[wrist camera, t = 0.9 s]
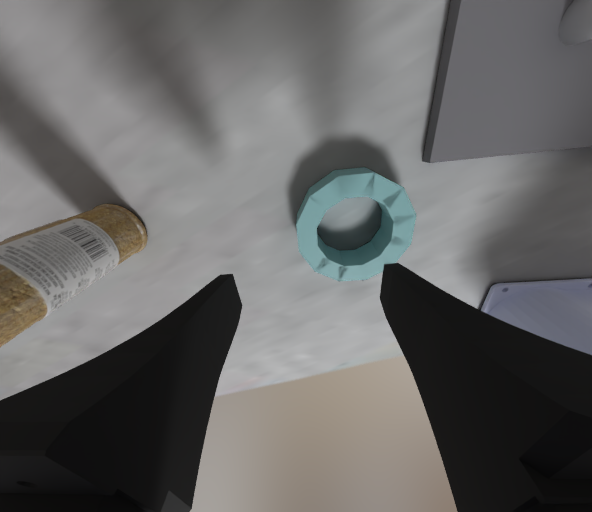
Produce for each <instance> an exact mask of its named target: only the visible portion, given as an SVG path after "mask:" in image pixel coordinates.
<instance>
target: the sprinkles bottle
mask: <svg viewBox="0 0 592 512" xmlns="http://www.w3.org/2000/svg"><path fill="white" fill-rule="evenodd" d="M146 243H147V233H146V229H145V227H144V225H143V224H142V222H141V221H140V220H139V219H138V218H137V217H136V216H135V215H134V214H133V213H131V212H130V211H129V210H127V209H125V208H123V207H121V206H118V205H113V204H102V205H99V206H96V207H95V208H94V209H92V210H90V211H87V212H84V213H81V214H79V215H76V216H73V217H69V218H67V219H64V220H58V221H55V222H52V223H49V224H46V225H43V226H40V227H37V228H34V229H32V230H29V231H26V232H23V233H20V234H17V235H15V236H12V237H9V238H7V239H5V240H4V241H2V242H0V347H1V346H2V345H4V344H5V343H7V342H9V341H10V340H11V339H13V338H14V337H15V336H16V335H18V334H20V333H21V332H23V331H24V330H25V329H27V328H29V327H30V326H31V325H33V324H34V323H35V322H37V321H40V320H42V319H43V318H45V317H46V316H48V315H49V314H50V313H52V312H53V311H55V310H56V309H57V308H59V307H60V306H62V305H63V304H65V303H66V302H67V301H69V300H70V299H72V298H73V297H74V296H76V295H77V294H79V293H80V292H82V291H83V290H84V289H86V288H87V287H89V286H90V285H92V284H93V283H94V282H96V281H97V280H99V279H100V278H102V277H103V276H104V275H106V274H107V273H109V272H110V271H112V270H113V269H114V268H115V267H116V266H117V265H118V264H120V263H121V262H123V261H124V260H126V259H127V258H128V257H130V256H131V255H133V254H134V253H138V252H140V251H141V250H143V248H144V247H145V246H146Z"/></svg>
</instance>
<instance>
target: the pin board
mask: <svg viewBox="0 0 592 512" xmlns="http://www.w3.org/2000/svg"><path fill="white" fill-rule="evenodd" d="M582 147H592V0H451V3H450V8H449V14H448V20H447V25H446V31H445V37H444V42H443V48H442V54H441V59H440V65H439V70H438V76H437V82H436V87H435V93H434V99H433V104H432V110H431V116H430V121H429V127H428V133H427V138H426V144H425V150H424V155H423V161H424V162H428V163H434V162H443V161H453V160H463V159H473V158H483V157H493V156H503V155H513V154H523V153H533V152H543V151H552V150H562V149H572V148H582Z"/></svg>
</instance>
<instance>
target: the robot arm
mask: <svg viewBox="0 0 592 512" xmlns="http://www.w3.org/2000/svg"><path fill="white" fill-rule="evenodd" d="M380 300H381V303H382V307H383V310H384V313H385V316H386V318H387V320H388V323H389V325H390V327H391V329H392V331H393V333H394V335H395V337H396V339H397V341H398V343H399V345H400V348H401V350H402V352H403V354H404V356H405V358H406V360H407V362H408V364H409V366H410V369H411V371H412V373H413V376H414V379H415V381H416V384H417V387H418V390H419V392H420V395H421V398H422V400H423V403H424V406H425V409H426V412H427V415H428V418H429V421H430V423H431V427H432V430H433V433H434V436H435V439H436V442H437V445H438V448H439V451H440V454H441V457H442V460H443V464H444V467H445V470H446V474H447V477H448V480H449V484H450V487H451V490H452V494H453V497H454V500H455V504H456V507H457V511H458V512H592V278H589V279H571V280H553V281H534V282H516V283H498V284H494V285H493V286H492V287H491V288H490V291H489V293H488V295H487V297H486V300H485V302H484V304H483V306H482V309H481V311H480V310H478V309H476V308H474V307H472V306H470V305H468V304H466V303H465V302H463V301H461V300H459V299H457V298H455V297H454V296H452V295H450V294H448V293H446V292H445V291H443V290H441V289H439V288H438V287H436V286H434V285H433V284H431V283H430V282H428V281H426V280H425V279H423V278H421V277H420V276H418V275H417V274H415V273H414V272H412V271H410V270H409V269H407V268H405V267H404V266H402V265H400V264H398V263H392V264H384V268H383V277H382V285H381V293H380ZM241 309H242V303H241V300H240V297H239V293H238V290H237V287H236V283H235V280H234V277H233V274H225V275H220V276H218V277H217V278H215V279H214V280H213V281H211V282H210V283H209V284H208V285H206V286H205V287H204V288H203V289H201V290H200V291H199V292H197V293H196V294H195V295H194V296H192V297H191V298H190V299H189V300H187V301H186V302H185V303H183V304H182V305H181V306H179V307H178V308H176V309H175V310H174V311H172V312H171V313H170V314H168V315H167V316H165V317H164V318H163V319H161V320H160V321H158V322H157V323H155V324H154V325H152V326H150V327H149V328H147V329H146V330H144V331H142V332H141V333H139V334H137V335H136V336H134V337H132V338H130V339H129V340H127V341H125V342H123V343H122V344H120V345H118V346H116V347H114V348H113V349H111V350H109V351H107V352H105V353H103V354H101V355H100V356H98V357H96V358H94V359H92V360H90V361H88V362H86V363H84V364H82V365H79V366H77V367H75V368H73V369H71V370H69V371H67V372H65V373H63V374H60V375H58V376H56V377H54V378H52V379H49V380H47V381H45V382H42V383H40V384H38V385H35V386H33V387H31V388H29V389H26V390H24V391H22V392H19V393H17V394H15V395H12V396H10V397H7V398H5V399H3V400H1V401H0V512H189V511H190V510H191V509H192V503H193V497H194V491H195V486H196V480H197V475H198V469H199V464H200V459H201V453H202V449H203V444H204V439H205V435H206V430H207V425H208V421H209V417H210V412H211V408H212V404H213V400H214V396H215V392H216V388H217V384H218V380H219V377H220V374H221V371H222V368H223V365H224V362H225V360H226V357H227V354H228V351H229V349H230V346H231V343H232V340H233V338H234V335H235V332H236V329H237V326H238V323H239V319H240V314H241Z"/></svg>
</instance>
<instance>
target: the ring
mask: <svg viewBox="0 0 592 512" xmlns="http://www.w3.org/2000/svg"><path fill="white" fill-rule="evenodd" d="M365 196H367V197H369V198H371V199H373V200H375V201H377V202H378V204H379V206H380V207H381V209H382V217H381V227H380V229H379V230H378V231H377V233H376V234H375V236H374V237H373V239H372V240H371V241H370V242H368V243H367V244H365V245H363V246H361V247H359V248H358V249H356V250H342V251H339V250H337V249H334V248H332V247H330V246H327V245H325V244H324V242H323V241H322V240H321V238H320V237H319V235H318V234H317V227H318V225H319V223H320V221H321V219H322V218H323V216H324V214H325V212H326V210H328V209H329V208H331V207H332V206H334V205H335V204H337V203H338V202H340V201H341V200H343V199H345V198H354V197H365ZM415 220H416V213H415V211H414V209H413V207H412V204H411V202H410V200H409V198H408V196H407V194H406V191H405V189H404V187H402V186H400V185H398V184H396V183H394V182H393V181H391V180H388V179H386V178H384V177H383V176H381V175H379V174H377V173H375V172H373V171H371V170H370V169H368V168H366V167H361V168H351V169H341V170H334V171H332V172H331V173H329V174H328V175H327V176H325V177H324V178H322V179H321V180H320V181H318V182H317V183H316V184H314V185H313V186H311V187H310V188H309V190H308V192H307V194H306V196H305V198H304V200H303V202H302V204H301V207H300V209H299V211H298V213H297V221H296V227H297V236H298V246H299V252H300V253H301V255H302V256H303V257H304V258H305V260H306V261H307V262H308V263H309V265H310V266H311V267H312V268H313V270H314V271H315V272H317V273H320V274H322V275H325V276H327V277H330V278H332V279H335V280H337V281H352V280H367V279H369V278H371V277H373V276H375V275H377V274H379V273H381V272H383V268H384V264H392V263H396V262H397V260H398V259H399V258H400V257H401V255H402V254H403V253H404V252H405V251H406V249H407V248H408V247H409V246H410V244H411V241H412V236H413V230H414V225H415Z"/></svg>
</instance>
